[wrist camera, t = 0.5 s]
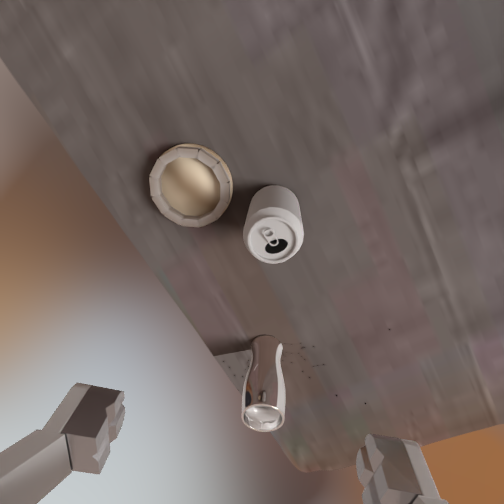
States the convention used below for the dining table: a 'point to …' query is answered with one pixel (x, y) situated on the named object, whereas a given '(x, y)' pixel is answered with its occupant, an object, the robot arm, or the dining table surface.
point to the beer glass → (264, 386)
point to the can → (273, 225)
